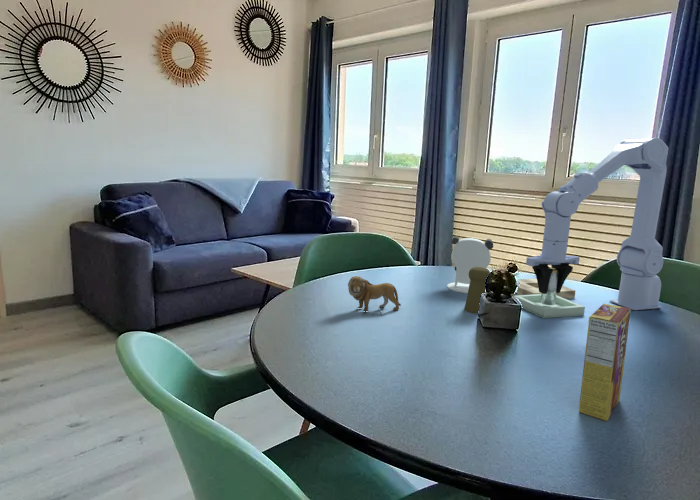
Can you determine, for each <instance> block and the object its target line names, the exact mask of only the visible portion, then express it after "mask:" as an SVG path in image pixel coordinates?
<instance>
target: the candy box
mask: <svg viewBox="0 0 700 500" xmlns="http://www.w3.org/2000/svg"><path fill="white" fill-rule="evenodd" d="M631 311H632V309H630V308H626V307H623V306H621V305H619V306H618V305H614V304H605V303H603V304H602V305H601V306H599V307H598V308H597V310H596V311H594V312H593V313H592V314H591V315H590V316H589V317H588V325H587V334H586V335H587V336H586V344H585V351H584V361H583V369H582V370H583V371H582V376H581V377H582V379H581V386H580V388H581V389H580V396H579V406H578V412H579V413H580V414H584V415H585V416H589V417H592V418H596V419H598V420H602V421H604V422H608V420H609V419H610V417H611V416H612V414H613V412H614V411H615V408H616V406H617V405H618V404H619V401H620V400H621V391H622V390H621V389H622V385H623V383H622V382H623V378H624V377H623V375H624V368H625V360H626V350H627V343H628V333H629V325H630V317H631Z"/></svg>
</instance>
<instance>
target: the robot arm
mask: <svg viewBox="0 0 700 500" xmlns="http://www.w3.org/2000/svg"><path fill="white" fill-rule="evenodd" d="M668 155H669V146H668V145H667V144H666V143H665V142H664V140H662V139H661V138H659V137H651V138H639V139H638V138H636V139H635V138H634V139H631V138H626V139H623V140H622V141H620V142H619V143H618V144H616V145H615V146H614V147H613V151H611V152H610V153H608V155H607V156H605V157H604V158H603V159H602V160H601V161H600V162H599V163H597V165H595V166H594V167H593V168H592V169H591V170H589V172H587V171H581V172H576V173H575V174H574V175H573V178H571V179H570V180H569V181H568V182H567V183H566V184H564V185H563V184H562V185H560V187H559V189H558V190H557V191H555V190H554V191H551V192H549V193H548V194H547V195H546V196H545V198H544V199H543V201H541V209H542V210H543V212H544V219H545V220H544V227H543V228H544V229H543V238H542V248H541V253H540V254H539V255H535V256H529V257H526V259H525V260H526V261H525V262H526V263H525V265H526V266H529V267H531V268H532V271H534V274H535V279H536V278H537V282H538V288H539V292H541V293H543V294H546V293H547V290H548V284H549V280H550V276H551V274H552V272H553V269H551V268H555V269H558V270H559V274H558V282H557V291H556V293H560V291H561V288H562V286H564V284H565V281H566V280H567V278H568V277H569V275H570V274H571V272H573V269H574V267H573V265H579V264H580V256H576V255H567V251H568V244H569V237H570V236H569V235H570V226H571V220H572V215H574V214H576V212H577V211H578V209H579V206H580V204H582V202H583V201H584V200H586V199H587V198H588V197H590V196H591V195H592V194H594V193H595V192H596V191H598V189H599V183H600V182H602V181H603V180H604V179H606V178H608V177H609V176H610V175H612V174H613V173H615V172H616V171H618V170H619V169H621V168H622V167H623V166H626V167H628V168H630V169H632V170H634V171H635V173H636V174H637V175H638V176H639V184H638V188H637V195H636V201H635V207H634V211H633V212H634V214H633V219H632V225H631V232H630V236H629V237H627V238H626V239H624V240H623V241H622V242H621V247H620V249H619V251H618V253H617V255H616V263H617V265H618V266H619V270H620V271H621V277H620V283H619V288H618V296H617V299H610V300H609V302H610V303H611V304H612V303H613V304H616V305H617V306H618V305H619V306H620V307H625V308H630V309H631V311H632V310H633V311H640V310H642V311H643V310H656V309H661V308H662V306H661V305H659V303H660V302H659V301H660V296H661V289H662V281H661V278H660V277H659V276H658V275H657V274H659V273H660V272H661V270H662V269H663V265H664V256H663V250H664V248H663V246H662V245H661V244H660V243H659V242H658V240H657V239H656V234H657V228H658V227H657V226H658V222H659V217H660V212H661V211H660V210H661V206H662V205H661V204H662V200H663V194H664V188H665V181H666V177H667V171H668V170H667V161H668ZM550 266H551V267H550Z"/></svg>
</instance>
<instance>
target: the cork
mask: <svg viewBox="0 0 700 500" xmlns="http://www.w3.org/2000/svg"><path fill="white" fill-rule="evenodd" d="M489 274H490V275H491V271H490V270H489V268H483V267H473V268H471V269H470V271H469V278H470V285H469V289H468V293H466V299H465V303H464V307H463V310H464V311H465V312H467V313H470V314H474V315H479V314H478V311H479V303H480V296H481V294H482V293H485V281H486V278H487V276H488V275H489Z"/></svg>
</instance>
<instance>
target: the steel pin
mask: <svg viewBox="0 0 700 500" xmlns="http://www.w3.org/2000/svg"><path fill="white" fill-rule="evenodd" d="M550 268H551V269H553V272H552V274H551V276H550V280H549V284H548V290H547V293H546V294H543V293H541V301H540V303H542V304H545V305H555V300H556V291H557V282H558V274H559V270H558V269H555V268H552V267H550Z"/></svg>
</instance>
